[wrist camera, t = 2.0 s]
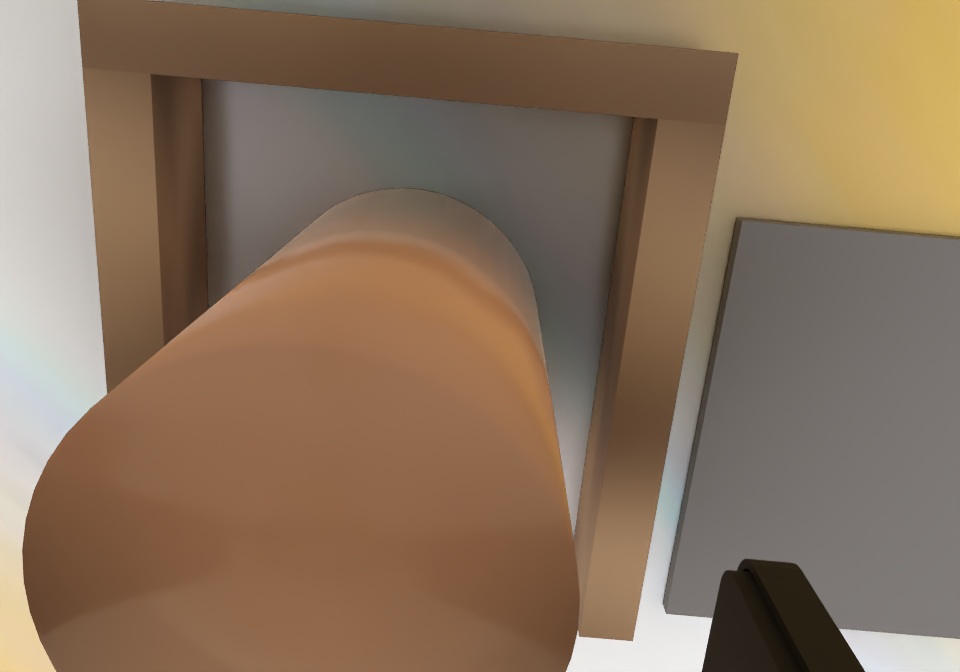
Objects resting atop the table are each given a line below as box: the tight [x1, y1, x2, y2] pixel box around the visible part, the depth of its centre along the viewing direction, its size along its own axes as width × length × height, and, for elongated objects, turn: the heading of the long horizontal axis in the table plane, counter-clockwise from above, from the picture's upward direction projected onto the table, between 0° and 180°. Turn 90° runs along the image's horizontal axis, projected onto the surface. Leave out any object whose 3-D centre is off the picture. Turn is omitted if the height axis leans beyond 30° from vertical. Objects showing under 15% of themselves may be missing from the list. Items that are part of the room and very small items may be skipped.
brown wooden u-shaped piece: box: [77, 0, 738, 641], centre depth 17 cm, size 12×11×2 cm
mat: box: [663, 217, 960, 639], centre depth 18 cm, size 10×10×1 cm
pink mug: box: [22, 188, 580, 672], centre depth 14 cm, size 8×6×10 cm
